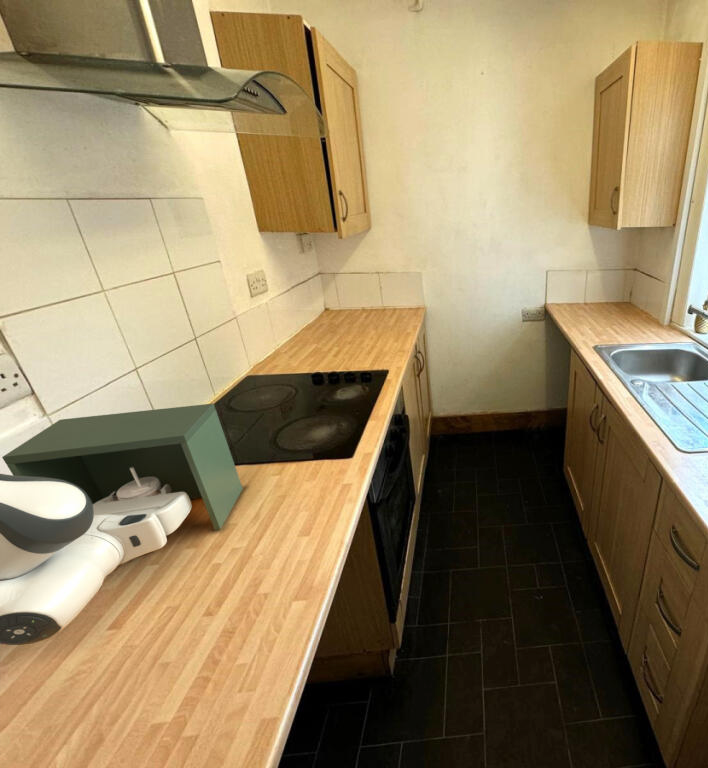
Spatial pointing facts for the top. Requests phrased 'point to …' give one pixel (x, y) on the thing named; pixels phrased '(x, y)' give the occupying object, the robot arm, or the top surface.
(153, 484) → the smoothie
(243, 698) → the top surface
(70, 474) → the cupboard
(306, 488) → the top surface
